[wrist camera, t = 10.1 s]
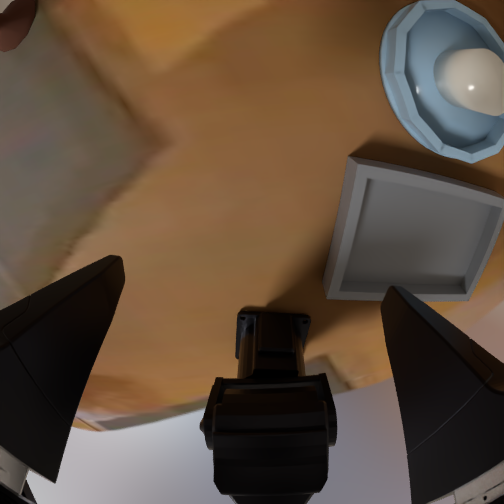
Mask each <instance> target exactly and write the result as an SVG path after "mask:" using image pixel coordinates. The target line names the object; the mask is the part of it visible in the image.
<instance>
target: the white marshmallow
mask: <svg viewBox="0 0 504 504" xmlns="http://www.w3.org/2000/svg"><path fill="white" fill-rule="evenodd" d="M433 74H434V80H435V84H436V87H437V89H438V91H439V93H440V94H441V96H442V97H443V98H444V99H445V100H446V101H447V102H448V103H449V104H451V105H453V106H455V107H459V108H464V109H468V110H472V111H476V112H480V113H484V114H488V115H492V116H499V115H501V114H503V113H504V63H503V62H502V60H501V59H500V58H499V57H498V56H497V55H496V54H495V53H494V52H492V51H490V50H488V49H484V48H479V49H459V50H447V51H444V52H442V53H440V54H439V55H438V57H437V58H436V60H435V63H434V68H433Z"/></svg>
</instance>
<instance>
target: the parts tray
mask: <svg viewBox="0 0 504 504" xmlns="http://www.w3.org/2000/svg"><path fill="white" fill-rule="evenodd" d="M503 221H504V197H503V196H502V195H500V194H499V193H497V192H496V191H493V190H490V189H487V188H483V187H480V186H477V185H474V184H470V183H467V182H464V181H460V180H457V179H453V178H449V177H446V176H442V175H438V174H434V173H430V172H426V171H422V170H418V169H413V168H409V167H404V166H400V165H395V164H390V163H385V162H380V161H375V160H369V159H363V158H358V157H352V156H348V159H347V165H346V171H345V177H344V182H343V188H342V193H341V198H340V204H339V209H338V214H337V219H336V223H335V228H334V233H333V237H332V242H331V246H330V251H329V255H328V259H327V264H326V268H325V272H324V276H323V280H322V283H323V287H324V291H325V295H326V299H337V300H366V301H383V299H384V296H385V294H386V292H387V290H388V288H389V286H391V285H397V286H402V287H403V288H405V289H406V290H407V291H409V292H410V293H412V294H413V295H414V296H416V297H417V298H418V299H420V300H421V301H469V299H470V297H471V295H472V293H473V291H474V289H475V287H476V285H477V283H478V281H479V279H480V277H481V275H482V273H483V270H484V268H485V266H486V264H487V262H488V259H489V257H490V255H491V252H492V250H493V248H494V245H495V243H496V240H497V237H498V235H499V232H500V230H501V227H502V224H503Z"/></svg>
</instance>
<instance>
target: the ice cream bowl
mask: <svg viewBox="0 0 504 504" xmlns="http://www.w3.org/2000/svg"><path fill="white" fill-rule="evenodd" d="M34 17H35V1H34V0H14V1H12V2H11V3H10V4H9V5H8V7H7V8H6V9H5V10H4V11H3V13H0V50H1V51H3V52H6V51H9V50H12V49H15V48H16V47H17V46H18V45H19V43H20V42H21V41H22V40H23V39H24V38H25V37H26V35H27V34H28V31H29V29H30V27H31V24H32V22H33V20H34Z"/></svg>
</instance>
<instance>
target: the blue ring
mask: <svg viewBox="0 0 504 504" xmlns="http://www.w3.org/2000/svg"><path fill="white" fill-rule="evenodd" d="M479 48H484V49H488V50H490V51H492V52H494V53H495V54H496V55H497V56H498V57H499V58H500V59H501V60H502V62H503V63H504V43H503V42H502V40H501V39H500V37H499V36H498V35H497V33H496V32H495V31H494V29H493V28H492V27H491V25H490V24H489V23H488V21H487V20H486V19H485V18H484V17H482V16H481V15H479V14H478V13H476V12H474V11H473V10H471V9H469V8H468V7H466V6H464V5H462V4H461V3H459V2H457V1H455V0H424V1H418V2H415V3H412V4H410V5H407V6H405V7H404V8H402V9H401V10H399V11H398V12H397V13H396V14H395V15H394V16H393V17H392V18H391V19H390V21H389V22H388V23H387V25H386V28H385V30H384V32H383V35H382V39H381V43H380V50H379V66H380V75H381V79H382V84H383V87H384V91H385V94H386V97H387V99H388V101H389V104H390V106H391V108H392V110H393V112H394V113H395V115H396V117H397V118H398V120H399V121H400V123H401V124H402V126H403V127H404V128H405V129H406V131H407V132H408V133H409V134H410V135H411V136H412V137H413V138H414V139H415V140H416V141H417V142H419V143H420V144H422V145H423V146H424V147H426V148H428V149H429V150H431V151H433V152H435V153H437V154H440V155H442V156H445V157H450V158H456V159H459V160H462V161H465V162H468V163H471V164H472V163H475V162H477V161H479V160H482V159H484V158H487V157H489V156H492V155H494V154H497V153H499V151H500V150H501V148H502V147H503V145H504V113H503V114H501V115H499V116H492V115H488V114H484V113H480V112H476V111H472V110H468V109H464V108H459V107H455V106H453V105H451V104H449V103H448V102H447V101H446V100H445V99H444V98H443V97H442V96H441V94H440V93H439V91H438V89H437V87H436V84H435V80H434V74H433V68H434V63H435V60H436V58H437V57H438V55H439V54H440V53H442V52H444V51H447V50H459V49H479Z"/></svg>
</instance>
